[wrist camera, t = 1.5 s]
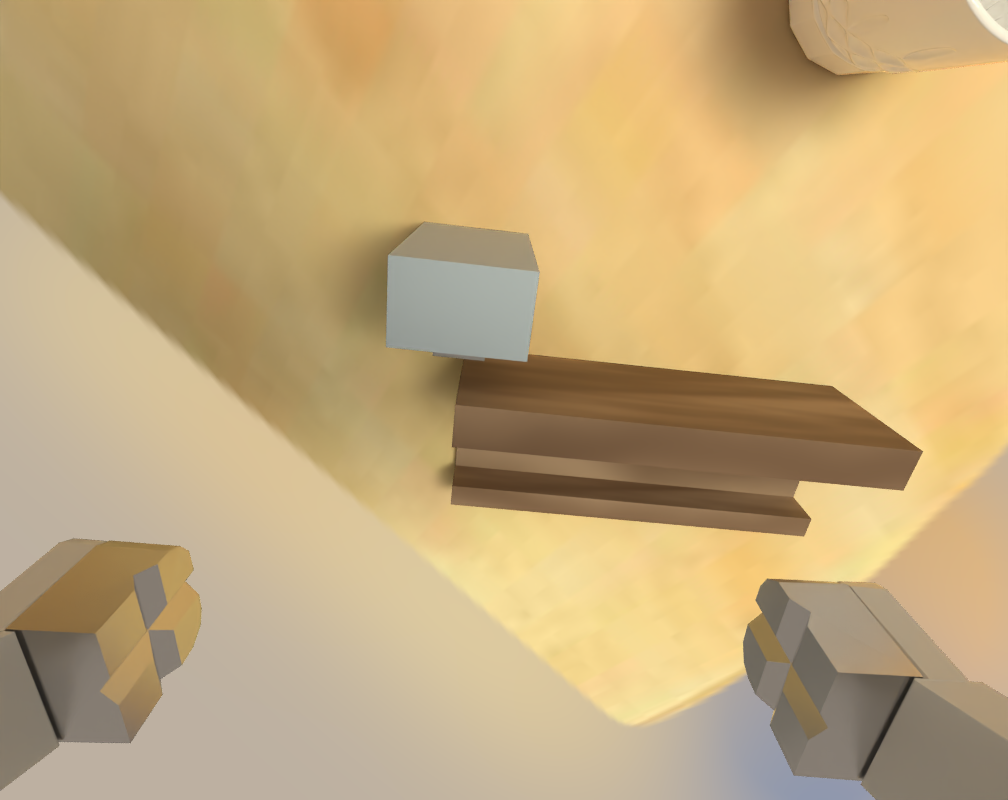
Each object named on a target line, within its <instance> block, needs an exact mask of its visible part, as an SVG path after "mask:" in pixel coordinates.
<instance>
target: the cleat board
mask: <svg viewBox="0 0 1008 800" xmlns="http://www.w3.org/2000/svg"><path fill="white" fill-rule="evenodd" d="M452 447H455V448H457V454H456V465H455V472H454V479H453V485H452V497H451V504H454V505H465V506H476V507H487V508H498V509H509V510H520V511H531V512H542V513H553V514H564V515H575V516H586V517H597V518H608V519H619V520H630V521H641V522H652V523H663V524H674V525H685V526H696V527H707V528H718V529H729V530H740V531H751V532H762V533H773V534H784V535H795V536H804V535H805V533H806V531H807V528H808V526H809V524H810V521H811V518H810V517H809V516H808V514H807V513H806V512H805V511H804V510H803V508H802V507H801V506H800V505H799V504H798V502H797V501H796V500H795V499H794V498H793V496H794V494H795V491H796V489H797V486H798V484H799V481H809V482H820V483H830V484H840V485H851V486H861V487H872V488H882V489H893V490H904V488H905V486H906V484H907V482H908V480H909V478H910V476H911V474H912V472H913V470H914V468H915V466H916V464H917V462H918V460H919V458H920V456H921V454H922V452H923V451H922V450H920V449H919V448H917V447H916V446H915V445H913V444H912V443H910V442H909V441H908V440H906V439H905V438H903V437H902V436H901V435H899V434H898V433H896V432H895V431H894V430H892V429H891V428H890V427H888V426H887V425H885V424H884V423H883V422H881V421H880V420H878V419H877V418H876V417H874V416H873V415H871V414H870V413H869V412H867V411H866V410H864V409H863V408H862V407H860V406H859V405H858V404H856V403H855V402H853V401H852V400H851V399H849V398H848V397H846V396H845V395H844V394H842V393H841V392H839V391H838V390H837V389H835V388H834V387H832V386H823V385H814V384H804V383H795V382H785V381H776V380H766V379H757V378H747V377H738V376H728V375H719V374H709V373H700V372H690V371H681V370H671V369H662V368H652V367H643V366H633V365H623V364H614V363H604V362H595V361H585V360H576V359H566V358H557V357H547V356H538V355H528V359H527V362H523V361H513V360H504V359H494V358H485V361H479V360H470V359H464V361H463V367H462V372H461V377H460V383H459V388H458V394H457V399H456V404H455V416H454V428H453V440H452Z"/></svg>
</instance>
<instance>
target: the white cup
mask: <svg viewBox="0 0 1008 800" xmlns="http://www.w3.org/2000/svg"><path fill="white" fill-rule="evenodd" d="M789 13H790V27H791V29H792V31H793V33H794V35H795V37H796V38H797V40H798V42H799V44H800V46H801V48H802V49H803V51H804V53H805V55H806V57H807V58H808V59H809V60H811V61H813V62H815V63H816V64H818V65H820V66H822V67H824V68H825V69H827V70H829V71H831V72H833V73H834V74H836V75H845V74H863V73H877V72H887V73H892V74H894V73H905V72H923V71H932V70H941V69H950V68H959V67H967V66H976V65H985V64H993V63H1002V62H1008V0H789Z"/></svg>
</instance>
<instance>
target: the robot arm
mask: <svg viewBox="0 0 1008 800" xmlns="http://www.w3.org/2000/svg"><path fill="white" fill-rule="evenodd" d="M193 569H194V568H193V565H192V561H191V557H190V553H189V551H188V550H186V549H184V548H182V547H181V546H172V545H158V544H146V543H134V542H121V541H100V540H87V539H71V540H67V541H64V542H60V543H58V544H57V545H56V546H55V547H53V548H52V549H51V550H50V551H49V552H47V553H46V554H45V555H44V556H42V558H40V559H39V560H38V561H36V562H35V563H34V564H33V565H32V566H30V567H29V568H28V569H27V570H26V571H24V572H23V573H22V574H21V575H20V576H18V577H17V578H16V579H15V580H14V581H12V582H11V583H10V584H9V585H7V586H6V587H5V588H4V589H3V590H1V591H0V791H1V790H2V789H3V788H5V787H6V786H7V785H9V784H10V783H11V782H12V781H14V780H15V779H16V778H18V777H19V776H20V775H22V774H23V773H24V772H25V771H27V770H28V769H30V768H31V767H32V766H33V765H35V764H36V763H37V762H39V761H40V760H41V759H43V758H44V757H45V756H47V755H48V754H49V753H51V752H52V751H53V750H54V749H56V748H57V747H58V746H59V742H95V743H131V741H132V740H133V739H134V737H135V735H136V734H137V732H138V731H139V729H140V728H141V726H142V725H143V723H144V722H145V720H146V719H147V717H148V716H149V714H150V713H151V711H152V709H153V708H154V707H155V705H156V704H157V702H158V701H159V699H160V698H161V696H162V687H161V678H163V677H164V676H166V675H167V674H169V673H170V672H172V671H173V670H175V669H177V668H178V667H180V666H181V665H182V664H183V662H184V661H185V659H186V658H187V656H188V654H189V652H190V651H191V650H192V648H193V646H194V643H195V640H196V637H197V634H198V631H199V628H200V625H201V609H202V608H201V603H200V597H199V594H198V593H197V592H196V591H195V590H194V589H193V588H192V587H191V586H190V585H189V584H188V583H187V582H185V581H186V580H187V578H188V577H189V576H190V574H191V573H192V571H193ZM756 602H757V604H758V606H759V607H760V609H761V611H762V613H761V614H760V615H759V616H757V617H756V618H755V619H754V620H752V621H751V622H750V623H749V624H748V626H747V630H746V633H745V637H744V641H743V652H744V664H745V668H746V672H747V675H748V679H749V681H750V683H751V685H752V688H753V690H754V692H755V694H756V695H757V696H758V697H759V698H760V699H761V700H763V701H764V702H765V703H766V704H767V705H769V706H770V707H771V708H772V709H773V710H774V712H773V716H772V720H771V723H770V726H771V729H772V731H773V733H774V735H775V737H776V739H777V741H778V743H779V745H780V747H781V750H782V752H783V754H784V756H785V758H786V760H787V762H788V764H789V766H790V768H791V771H792V772H793V775H794V776H807V777H820V778H833V779H845V780H857V781H862V783H861V785H862V786H863V787H864V788H865V789H866V790H867V791H868V792H869V793H870V794H871V795H872V796H873V797H874V798H875V799H876V800H1008V697H1006V696H1004V695H1003V694H1001V693H999V692H998V691H996V690H994V689H993V688H991V687H989V686H987V685H986V684H984V683H983V682H972V681H969V680H968V679H967V678H966V677H965V676H964V675H963V673H962V672H961V671H960V670H959V669H958V668H957V667H956V666H955V664H953V662H952V661H951V660H950V659H949V658H948V657H947V656H946V655H945V653H944V652H943V651H942V650H941V649H940V648H939V647H938V646H937V645H936V644H935V642H934V641H933V640H932V639H931V638H930V637H929V636H928V635H927V633H926V632H925V631H924V630H923V629H922V628H921V627H920V626H919V625H918V623H917V622H916V621H915V620H914V619H913V618H912V617H911V616H910V615H909V614H908V612H907V611H906V610H905V609H904V608H903V607H902V606H901V605H900V604H899V602H898V601H897V600H896V599H895V598H894V597H893V596H892V595H891V594H890V592H889V591H888V590H887V589H885V588H884V587H882V586H880V585H878V584H876V583H871V582H842V581H839V582H824V581H804V580H783V579H767V580H766V581H765V582H764V583H763V584H762V585H761V586H760V589H759V592H758V595H757V598H756Z"/></svg>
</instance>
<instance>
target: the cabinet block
mask: <svg viewBox="0 0 1008 800" xmlns="http://www.w3.org/2000/svg"><path fill="white" fill-rule="evenodd" d="M538 280H539V268H538V265H537V262H536V259H535V255H534V252H533V249H532V245H531V242H530V239H529V235H528V234H524V233H516V232H507V231H499V230H490V229H481V228H473V227H464V226H455V225H447V224H438V223H430V222H424V223H423V224H421V225H420V226H419V227H418V228H417V229H416V230H415V231H414V232H413V233H412V234H410V235H409V236H408V237H407V238H406V239H405V240H404V241H403V242H402V243H401V244H399V245H398V246H397V247H396V248H395V249H394V250H393V251H392V252H391V253H390V254H388V280H387V325H386V347H389V348H398V349H408V350H417V351H427V352H433V356H441V357H451V358H460V359H470V360H479V361H485V358H494V359H504V360H513V361H523V362H527V359H528V352H529V345H530V337H531V330H532V323H533V316H534V309H535V301H536V294H537V287H538Z"/></svg>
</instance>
